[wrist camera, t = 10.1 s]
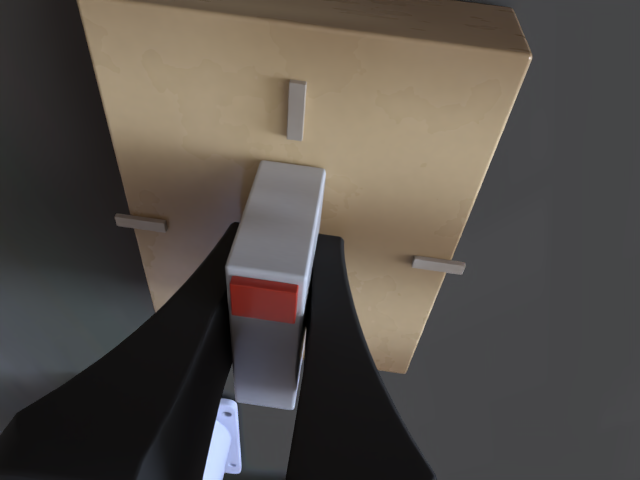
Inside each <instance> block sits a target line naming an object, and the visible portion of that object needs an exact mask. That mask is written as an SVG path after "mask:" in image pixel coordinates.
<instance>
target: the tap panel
mask: <svg viewBox="0 0 640 480" xmlns="http://www.w3.org/2000/svg"><path fill="white" fill-rule="evenodd" d="M77 4H78V8H79V12H80V16H81V20H82V24H83V28H84V32H85V36H86V40H87V44H88V48H89V52H90V56H91V60H92V64H93V68H94V72H95V76H96V80H97V84H98V88H99V92H100V96H101V100H102V104H103V108H104V112H105V116H106V120H107V124H108V128H109V132H110V136H111V140H112V144H113V148H114V152H115V155H116V159H117V163H118V167H119V171H120V175H121V179H122V183H123V187H124V191H125V195H126V199H127V203H128V207H129V211H130V215H126V214H118V213H116V215H115V221H116V224H117V226H121V227H128V228H134V231H135V235H136V239H137V243H138V247H139V251H140V255H141V259H142V263H143V267H144V271H145V275H146V279H147V283H148V287H149V291H150V295H151V299H152V303H153V307H154V311H155V313H156V312H157V311H158V310H159V309H160V308H161V307H162V306H163V305H164V304H165V303H166V302H167V301H168V300H169V299H170V298H171V297H172V296H173V295H174V294H175V293H176V291H177V290H178V289H179V288H180V287H181V286H182V285H183V284H184V283H185V282H186V281H187V280H188V279H189V277H190V276H191V275H192V274H193V273H194V272H195V270H196V269H197V268H198V267H199V266H200V264H201V263H202V262H203V261H204V260H205V258H206V257H207V256H208V255H209V253H210V252H211V251H212V250H213V248H214V247H215V246H216V244H217V243H218V242H219V240H220V239H221V237H222V236H223V235H224V233H225V232H226V230H227V229H228V227H229V226H230V224H232V223H233V222H240V220H241V217H242V214H243V211H244V208H245V205H246V202H247V199H248V196H249V194H250V191H251V188H252V185H253V182H254V179H255V176H256V173H257V170H258V167H259V164H260V162H261V161H262V160H266V161H273V162H280V163H288V164H295V165H302V166H309V167H317V168H323V169H325V171H326V178H325V187H324V195H323V204H322V212H321V221H320V230H319V234H325V235H332V236H340V237H342V239H343V240H344V254H345V263H346V269H347V275H348V280H349V285H350V289H351V293H352V297H353V301H354V305H355V309H356V312H357V315H358V319H359V322H360V325H361V328H362V331H363V334H364V337H365V340H366V342H367V345H368V348H369V350H370V353H371V355H372V358H373V360H374V363H375V365H376V367H377V370H381V371H388V372H394V373H401V374H405V373H406V372H407V369H408V367H409V364H410V362H411V359H412V357H413V354H414V352H415V349H416V347H417V344H418V342H419V339H420V337H421V334H422V332H423V329H424V327H425V324H426V322H427V319H428V317H429V314H430V312H431V309H432V307H433V304H434V302H435V299H436V297H437V294H438V292H439V289H440V287H441V284H442V282H443V279H444V277H445V274H446V273H453V274H460V275H462V273H463V271H464V269H465V262H459V261H452V260H451V259H452V257H453V254H454V252H455V249H456V247H457V244H458V242H459V239H460V237H461V235H462V232H463V230H464V227H465V225H466V222H467V220H468V217H469V215H470V212H471V210H472V207H473V205H474V202H475V200H476V197H477V195H478V192H479V190H480V187H481V185H482V182H483V180H484V177H485V175H486V172H487V170H488V167H489V165H490V162H491V160H492V157H493V155H494V152H495V150H496V147H497V145H498V142H499V140H500V137H501V135H502V132H503V130H504V127H505V125H506V122H507V120H508V117H509V115H510V112H511V110H512V107H513V105H514V102H515V100H516V97H517V95H518V92H519V90H520V87H521V85H522V82H523V80H524V77H525V75H526V72H527V70H528V67H529V65H530V63H531V60H532V53H531V50H530V48H529V46H528V43H527V41H526V39H525V36H524V34H523V31H522V29H521V27H520V24H519V22H518V19H517V17H516V15H515V12H514V10H513V9H512V8H509V7H502V6H494V5H486V4H479V3H471V2H463V1H456V0H77ZM304 355H305V345H304V351H303V358H302V359H304Z"/></svg>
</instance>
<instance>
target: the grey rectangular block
mask: <svg viewBox="0 0 640 480" xmlns="http://www.w3.org/2000/svg"><path fill="white" fill-rule="evenodd" d="M325 178H326V171H325V169H323V168H317V167H309V166H302V165H295V164H288V163H280V162H273V161H266V160H262V161H261V162H260V164H259V167H258V170H257V173H256V176H255V179H254V182H253V185H252V188H251V191H250V194H249V196H248V199H247V202H246V205H245V208H244V211H243V214H242V217H241V220H240V223H239V226H238V229H237V232H236V235H235V238H234V241H233V244H232V247H231V250H230V253H229V256H228V259H227V262H226V265H225V272H226V285H227V298H228V311H229V324H230V337H231V350H232V363H233V376H234V389H235V400H236V401H237V402H240V403H247V404H253V405H260V406H267V407H274V408H280V409H287V410H293V409H294V407H295V401H296V395H297V389H298V383H299V376H300V370H301V364H302V358H303V351H304V345H305V338H306V324H307V314H308V305H309V296H310V287H311V278H312V269H313V260H314V255H315V249H316V244H317V239H318V234H319V230H320V221H321V212H322V204H323V195H324V187H325Z"/></svg>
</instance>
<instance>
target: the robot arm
mask: <svg viewBox="0 0 640 480" xmlns="http://www.w3.org/2000/svg"><path fill="white" fill-rule="evenodd" d="M239 223H240V222H233V223H232V224H230V226H229V227H228V229H227V230H226V232H225V233H224V235H223V236H222V237H221V239H220V240H219V242H218V243H217V244H216V246H215V247H214V248H213V250H212V251H211V252H210V253H209V255H208V256H207V257H206V258H205V260H204V261H203V262H202V263H201V264H200V266H199V267H198V268H197V269H196V270H195V272H194V273H193V274H192V275H191V276H190V277H189V279H188V280H187V281H186V282H185V283H184V284H183V285H182V286H181V287H180V288H179V289H178V290H177V291H176V293H175V294H174V295H173V296H172V297H171V298H170V299H169V300H168V301H167V302H166V303H165V304H164V305H163V306H162V307H161V308H160V309H159V310H158V311H157V312H156V313H155V314H154V315H153V316H151V317H150V318H149V319H148V320H147V321H146V322H145V323H144V324H143V325H142V326H140V327H139V328H138V329H137V330H136V331H135V332H133V333H132V334H131V335H130V336H129V337H127V338H126V339H125V340H124V341H122V342H121V343H120V344H119V345H118V346H116V347H115V348H114V349H113V350H111V351H110V352H109V353H107V354H106V355H105V356H103V357H102V358H101V359H99V360H98V361H96V362H95V363H94V364H92V365H91V366H89V367H88V368H87V369H85V370H84V371H82V372H81V373H79V374H78V375H77V376H75V377H74V378H72V379H71V380H69V381H68V382H66V383H65V384H63V385H62V386H60V387H59V388H57V389H55V390H54V391H52V392H50V393H49V394H47V395H46V396H44V397H42V398H41V399H39V400H37V401H36V402H34V403H32V404H31V405H29V406H28V407H26V408H24V409H23V410H21V411H19V412H18V413H16V415H15V416H14V417H13V419H12V420H11V422H10V423H9V424H8V426H7V427H6V428H5V430H4V431H3V432H2V434H1V435H0V480H223V476H224V472H225V473H232V474H238V473H240V472H241V468H242V464H241V450H240V436H239V422H238V408H237V403H236V402H235V401H233V400H231V399H227V398H221V396H222V393H223V390H224V386H225V383H226V380H227V377H228V374H229V371H230V368H231V365H232V350H231V337H230V324H229V311H228V298H227V285H226V272H225V265H226V262H227V259H228V256H229V253H230V250H231V247H232V244H233V241H234V238H235V235H236V232H237V229H238V226H239ZM286 480H437V478H436V475H435V473H434V471H433V470H432V468H431V467H430V465H429V464H428V462H427V461H426V459H425V457H424V456H423V454H422V453H421V451H420V449H419V448H418V446H417V444H416V443H415V441H414V440H413V438H412V436H411V434H410V433H409V431H408V429H407V427H406V426H405V424H404V422H403V420H402V419H401V417H400V415H399V413H398V411H397V409H396V407H395V405H394V403H393V401H392V399H391V397H390V395H389V393H388V391H387V389H386V387H385V385H384V383H383V381H382V379H381V376H380V374H379V372H378V370H377V367H376V365H375V363H374V360H373V358H372V355H371V353H370V350H369V348H368V345H367V342H366V340H365V337H364V334H363V331H362V328H361V325H360V322H359V319H358V315H357V312H356V309H355V305H354V301H353V297H352V293H351V289H350V285H349V280H348V275H347V269H346V263H345V254H344V240H343V239H342V237H340V236H332V235H325V234H318V239H317V244H316V249H315V255H314V260H313V269H312V278H311V287H310V296H309V305H308V314H307V324H306V338H305V355H304V371H303V378H302V384H301V390H300V396H299V402H298V408H297V414H296V420H295V427H294V432H293V438H292V444H291V450H290V456H289V462H288V468H287V474H286Z"/></svg>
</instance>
